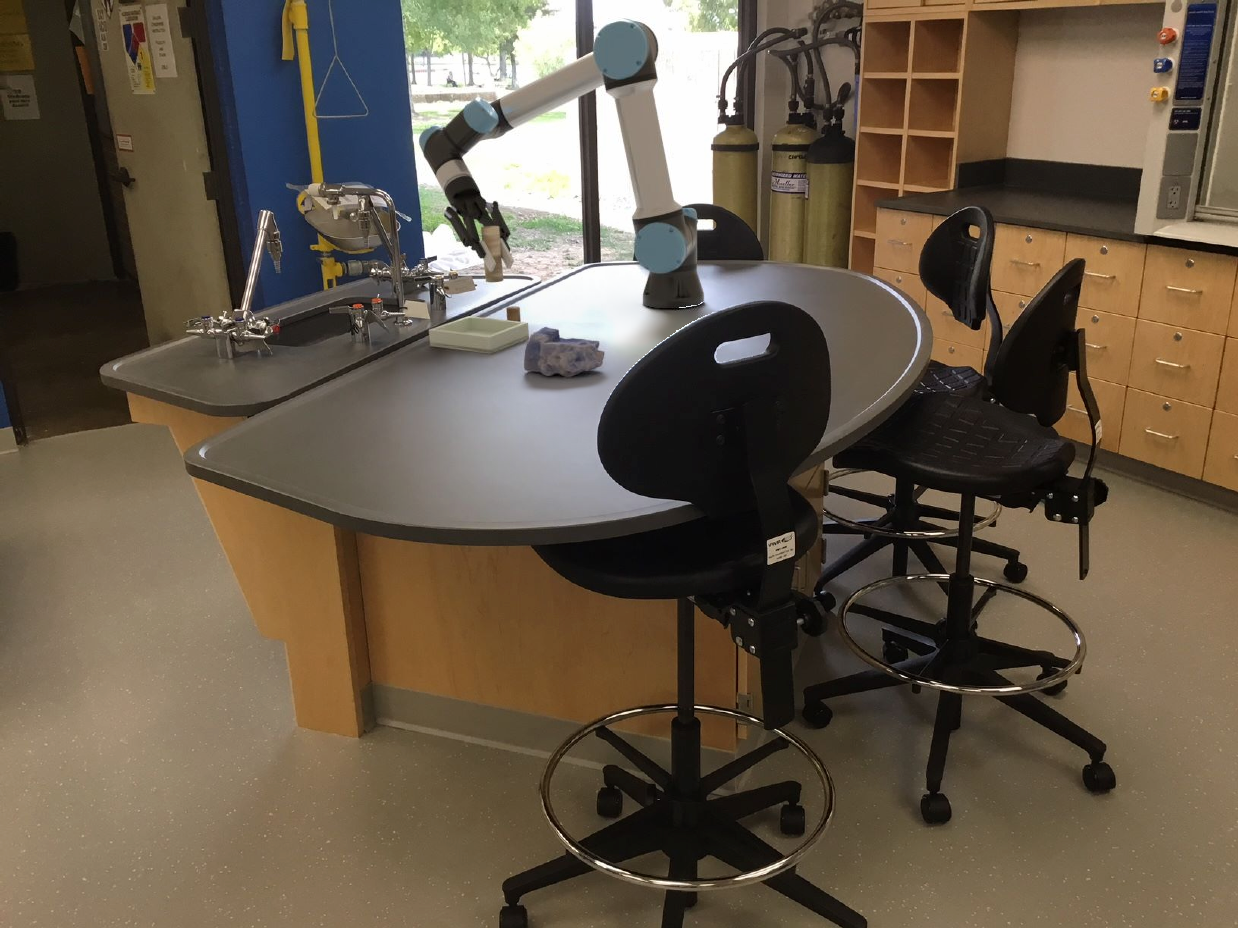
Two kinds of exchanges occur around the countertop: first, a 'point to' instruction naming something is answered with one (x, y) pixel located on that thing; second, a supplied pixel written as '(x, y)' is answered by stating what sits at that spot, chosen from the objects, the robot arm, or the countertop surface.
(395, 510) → the countertop surface
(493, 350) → the tray
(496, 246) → the dowel
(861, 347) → the countertop surface
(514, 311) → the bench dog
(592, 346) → the mineral
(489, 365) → the countertop surface
